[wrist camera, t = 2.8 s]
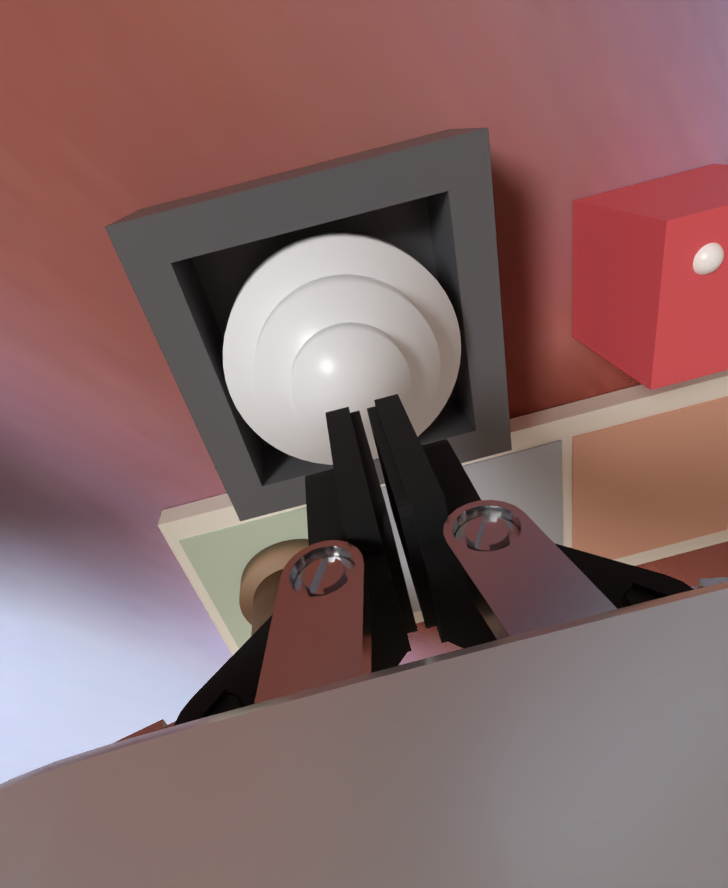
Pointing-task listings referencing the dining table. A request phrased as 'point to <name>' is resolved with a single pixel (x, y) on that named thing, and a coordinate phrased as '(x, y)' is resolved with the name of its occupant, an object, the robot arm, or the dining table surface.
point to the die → (655, 276)
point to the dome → (338, 340)
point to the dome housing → (300, 215)
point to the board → (529, 490)
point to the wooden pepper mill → (265, 580)
